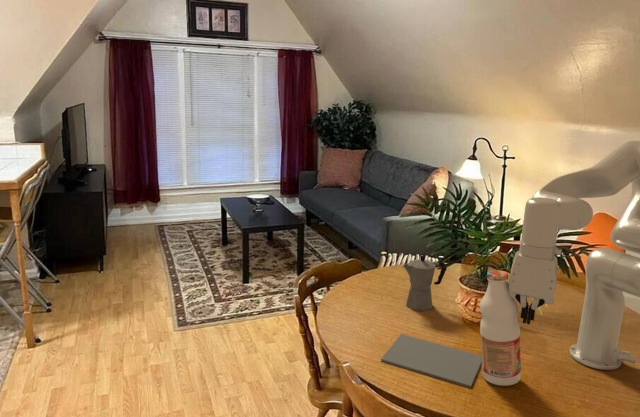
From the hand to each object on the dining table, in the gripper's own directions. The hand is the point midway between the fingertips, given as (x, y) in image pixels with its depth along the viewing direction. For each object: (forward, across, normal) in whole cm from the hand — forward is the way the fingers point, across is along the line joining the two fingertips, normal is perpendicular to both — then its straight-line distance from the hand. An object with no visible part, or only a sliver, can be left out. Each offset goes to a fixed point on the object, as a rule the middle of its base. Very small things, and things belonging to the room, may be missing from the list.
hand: (526, 321), depth 119 cm
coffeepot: (+18, +35, -33) cm, 51 cm away
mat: (+18, +22, -1) cm, 28 cm away
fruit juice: (+17, +4, 0) cm, 17 cm away
